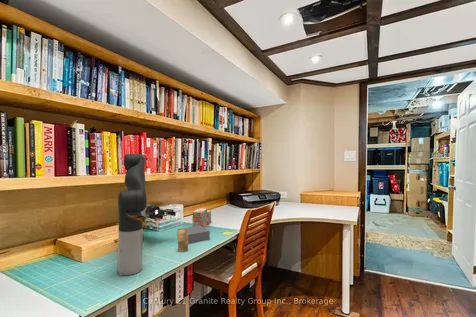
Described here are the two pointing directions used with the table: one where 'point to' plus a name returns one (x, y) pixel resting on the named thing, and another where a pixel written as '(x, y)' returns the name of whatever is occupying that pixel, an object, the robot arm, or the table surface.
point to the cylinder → (182, 240)
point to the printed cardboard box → (201, 217)
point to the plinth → (197, 234)
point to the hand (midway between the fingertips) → (169, 215)
